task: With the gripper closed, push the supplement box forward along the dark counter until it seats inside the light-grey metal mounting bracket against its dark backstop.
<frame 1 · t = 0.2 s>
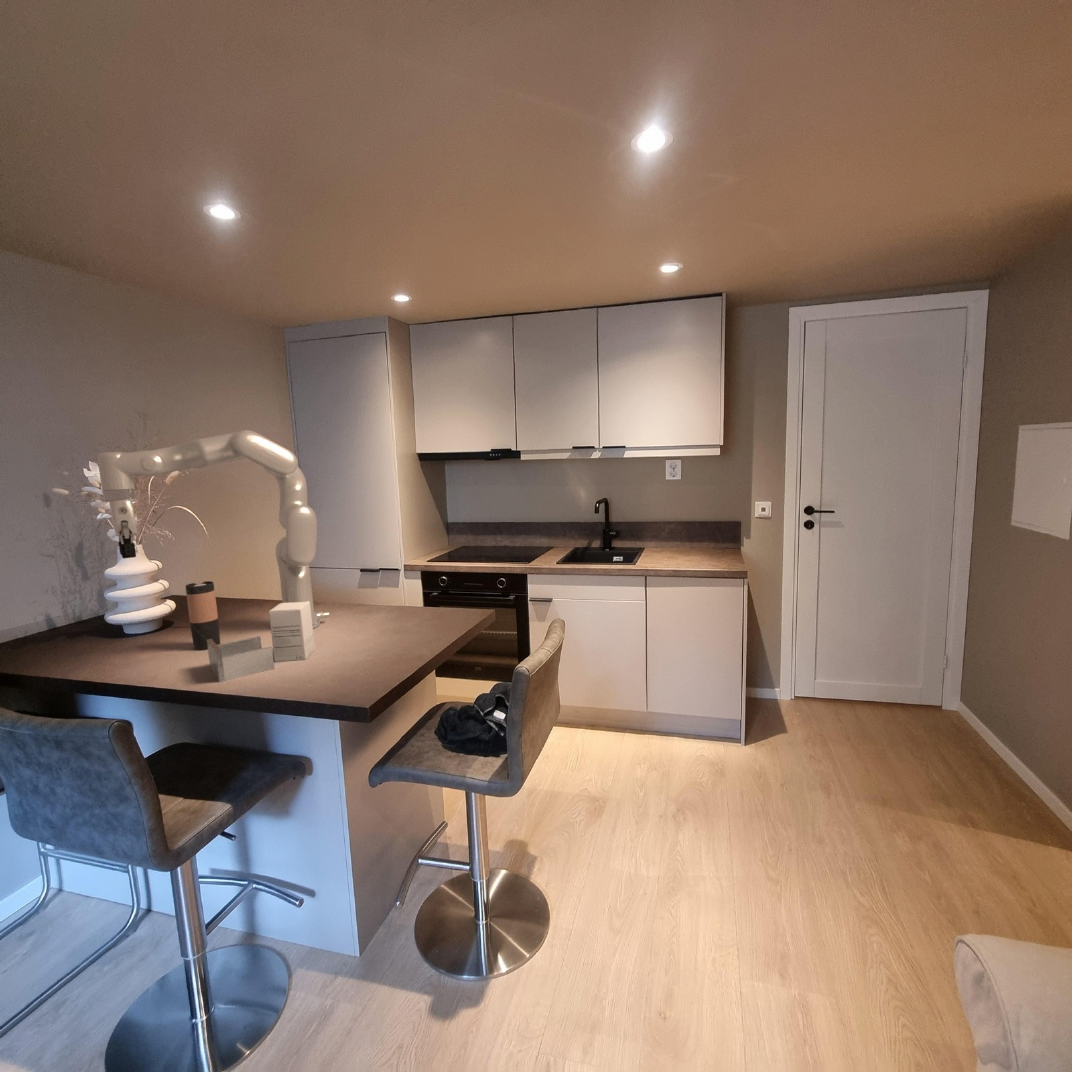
hand: (128, 555, 162), 31 cm above the countertop, tool pointing down, fingers open, 9 cm apart
supplement box: (295, 656, 164), on the countertop
bracket: (241, 668, 155), on the countertop
travel mug: (207, 647, 176), on the countertop
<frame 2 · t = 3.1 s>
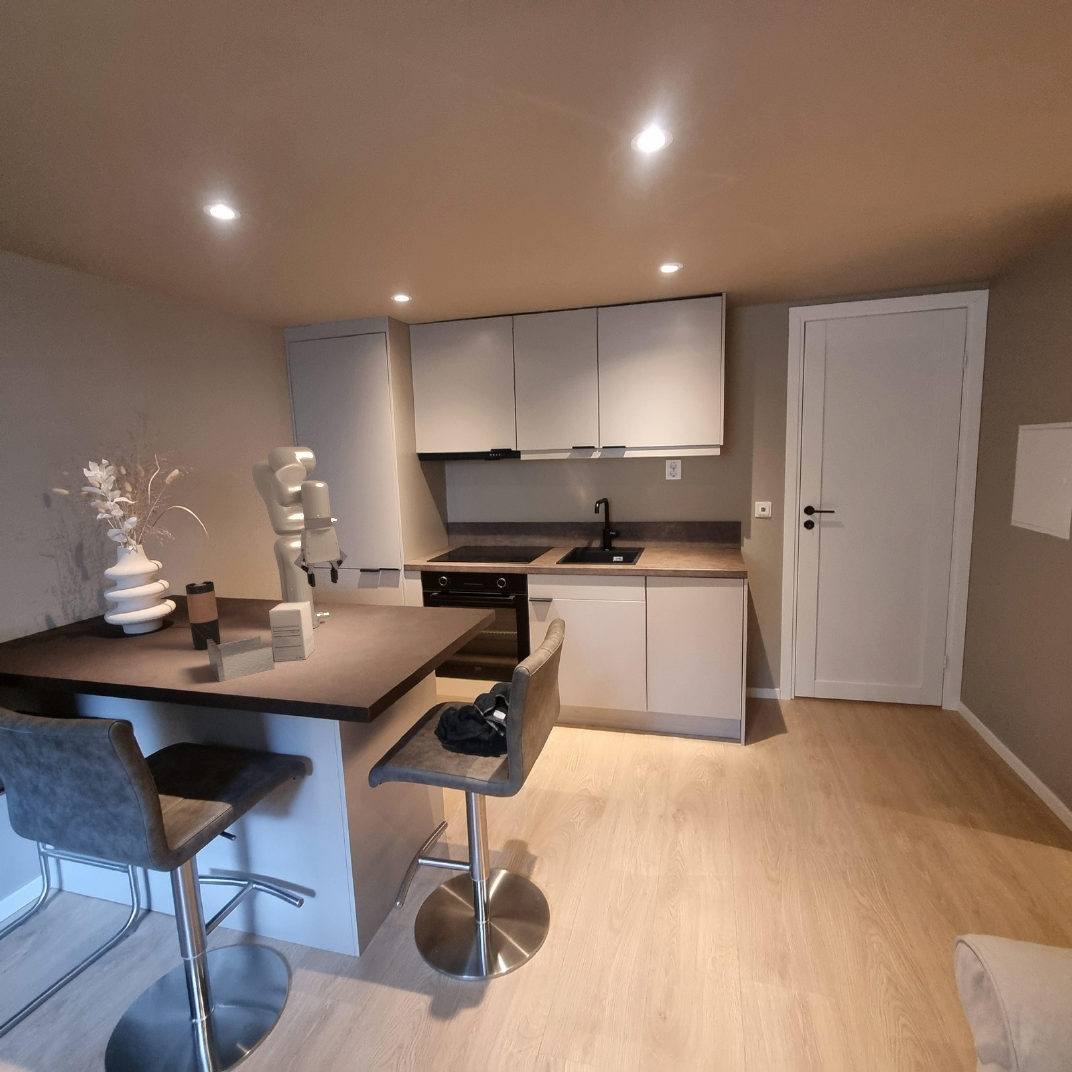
hand: (323, 584, 167), 20 cm above the countertop, tool pointing down, fingers open, 5 cm apart
nothing on the countertop moved.
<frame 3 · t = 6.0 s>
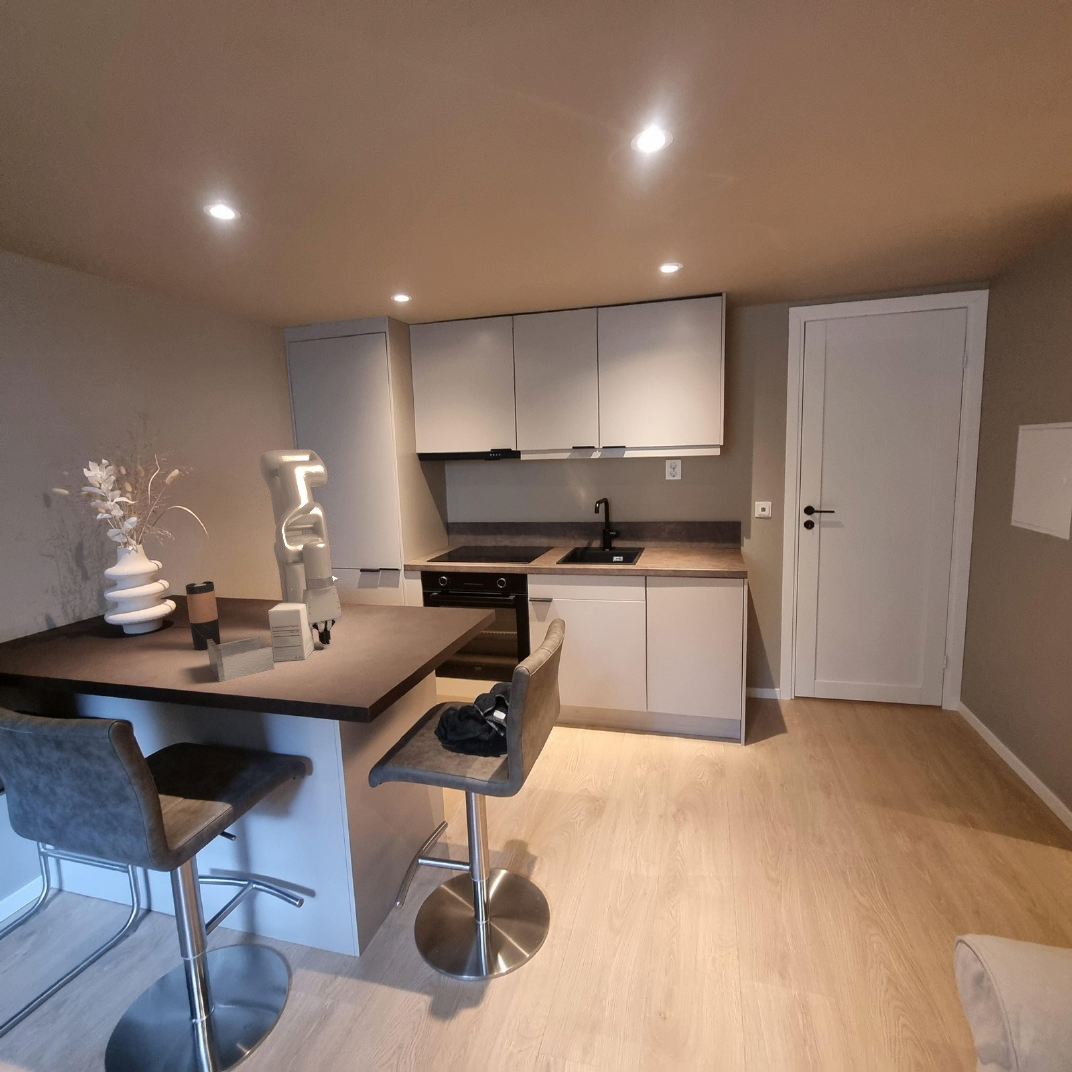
hand: (325, 643, 169), 2 cm above the countertop, tool pointing down, fingers closed
supplement box: (294, 656, 164), on the countertop, touching gripper
everything else where it was.
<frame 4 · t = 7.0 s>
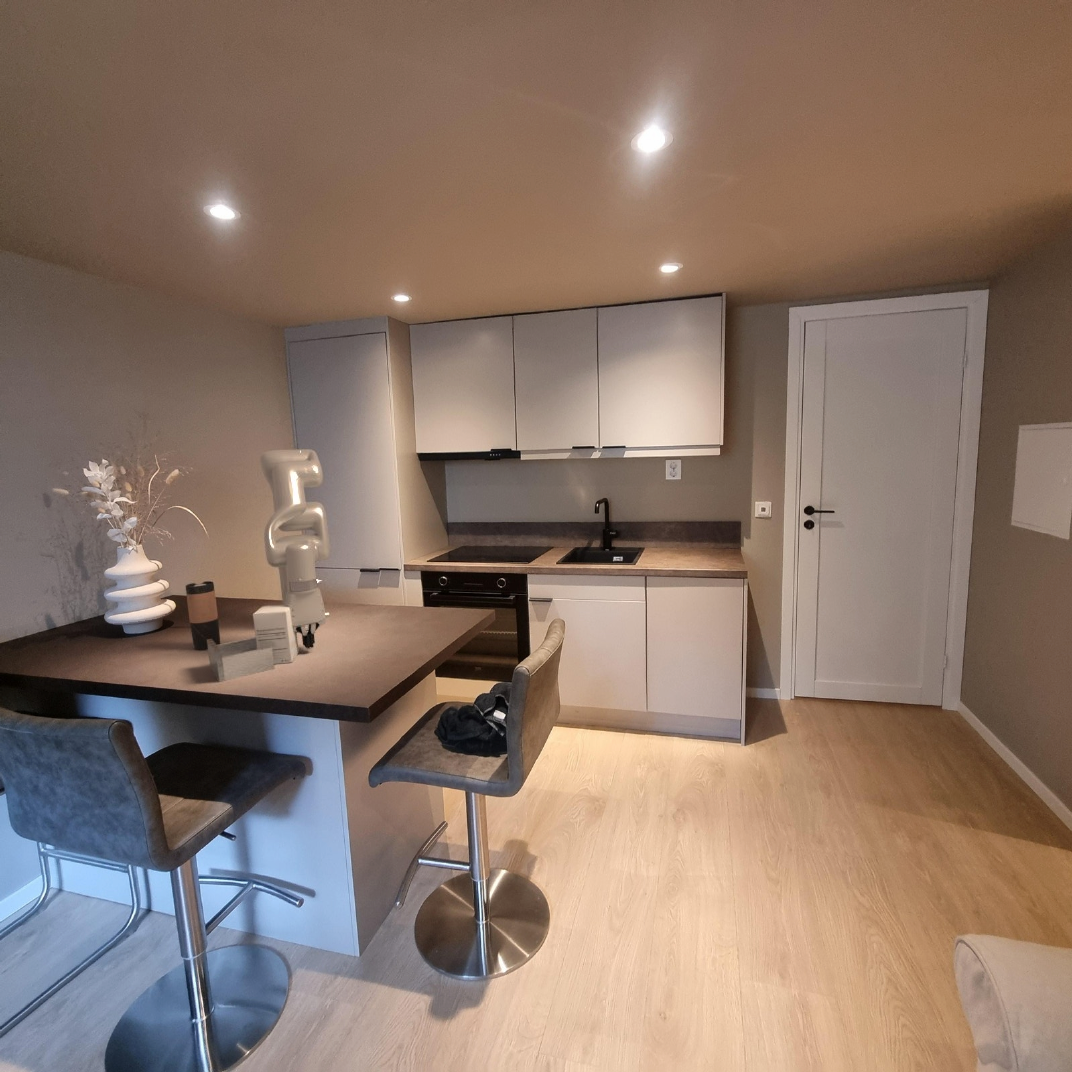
hand: (309, 646, 166), 2 cm above the countertop, tool pointing down, fingers closed
supplement box: (279, 659, 161), on the countertop, touching gripper
everything else where it was.
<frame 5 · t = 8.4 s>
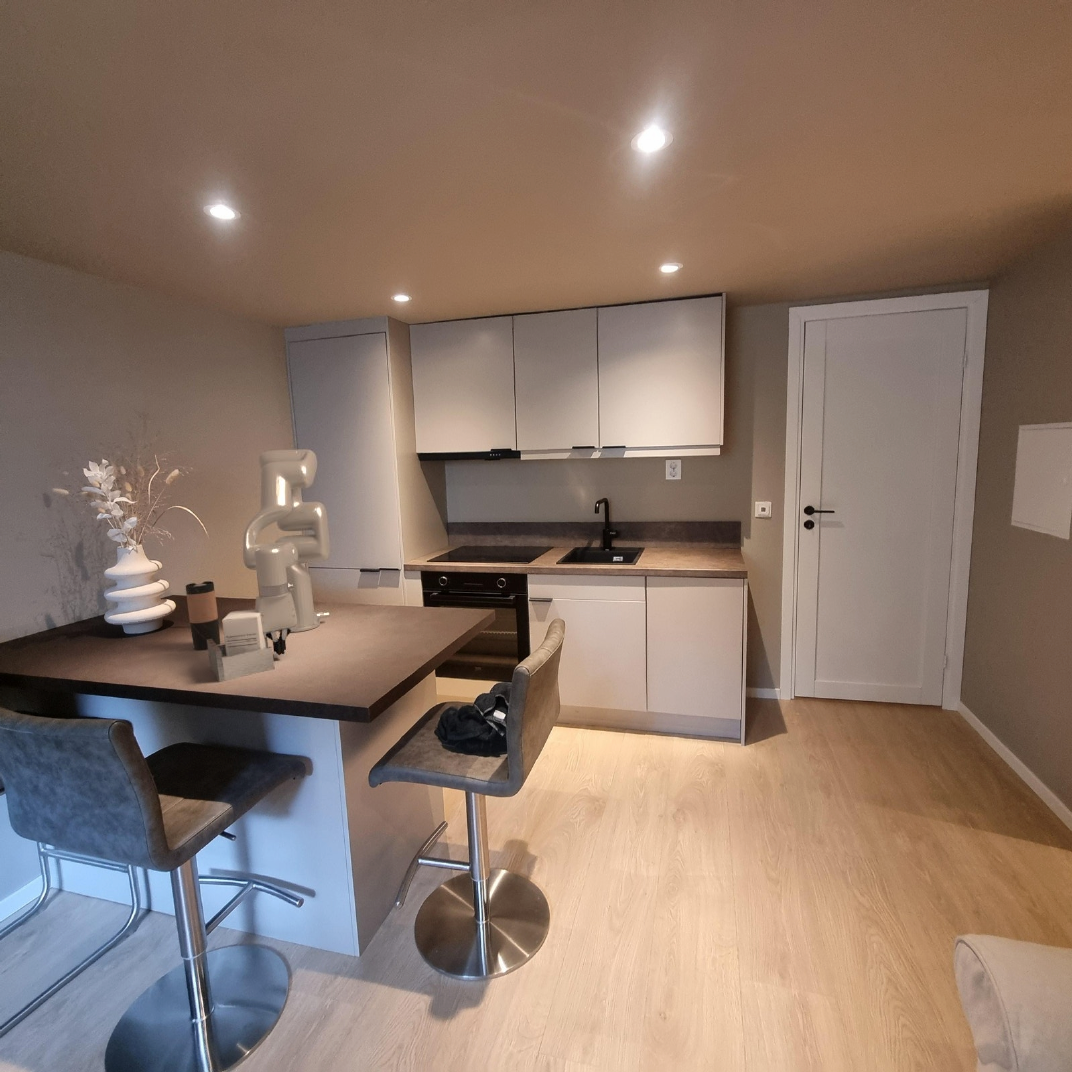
hand: (280, 653, 161), 2 cm above the countertop, tool pointing down, fingers closed
supplement box: (249, 666, 157), on the countertop, touching gripper
everything else where it was.
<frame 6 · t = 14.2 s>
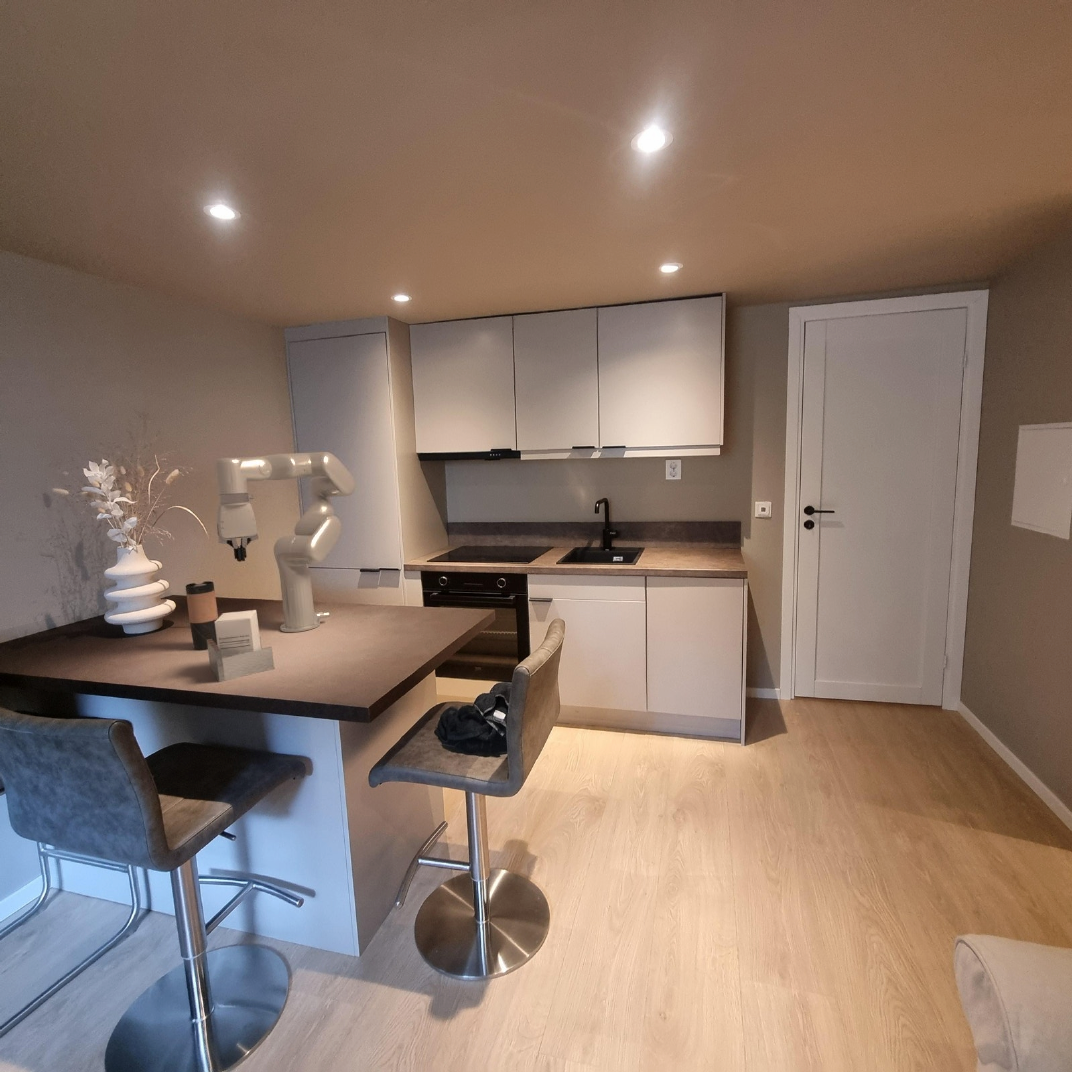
hand: (241, 560, 169), 27 cm above the countertop, tool pointing down, fingers closed
supplement box: (242, 668, 156), on the countertop
everything else where it was.
at the end: supplement box inside the target area (0.4 cm from its centre), on the countertop; supplement box tilted 0° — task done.
